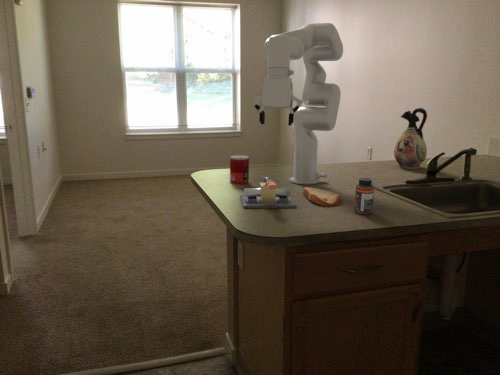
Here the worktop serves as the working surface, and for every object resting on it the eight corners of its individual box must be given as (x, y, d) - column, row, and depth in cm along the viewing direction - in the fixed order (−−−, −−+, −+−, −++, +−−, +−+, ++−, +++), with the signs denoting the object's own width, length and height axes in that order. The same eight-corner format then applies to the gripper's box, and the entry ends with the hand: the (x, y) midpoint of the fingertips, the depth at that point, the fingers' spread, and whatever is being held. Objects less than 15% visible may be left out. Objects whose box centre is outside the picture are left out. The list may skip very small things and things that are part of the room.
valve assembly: (288, 196, 165) (288, 176, 163) (296, 207, 152) (297, 185, 150) (239, 197, 163) (240, 177, 161) (243, 208, 150) (243, 186, 148)
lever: (262, 180, 157) (262, 176, 157) (271, 180, 157) (271, 176, 157) (267, 189, 144) (268, 185, 144) (277, 189, 145) (277, 185, 144)
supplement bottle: (351, 209, 150) (353, 177, 147) (368, 209, 150) (371, 176, 148) (357, 215, 144) (359, 181, 141) (374, 214, 145) (377, 180, 142)
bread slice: (306, 191, 176) (306, 182, 175) (350, 198, 167) (351, 188, 166) (286, 201, 161) (286, 191, 160) (333, 209, 152) (334, 198, 151)
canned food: (246, 185, 183) (247, 158, 181) (227, 183, 185) (228, 157, 182) (250, 181, 190) (250, 155, 188) (232, 179, 192) (232, 154, 189)
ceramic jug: (388, 168, 223) (393, 107, 216) (397, 163, 235) (403, 106, 228) (423, 172, 214) (430, 109, 207) (431, 167, 226) (438, 107, 219)
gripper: (305, 74, 152) (302, 125, 156) (255, 73, 156) (254, 123, 160) (302, 73, 145) (299, 126, 149) (250, 72, 149) (249, 124, 152)
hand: (276, 124), depth 154 cm, fingers open, 9 cm apart
